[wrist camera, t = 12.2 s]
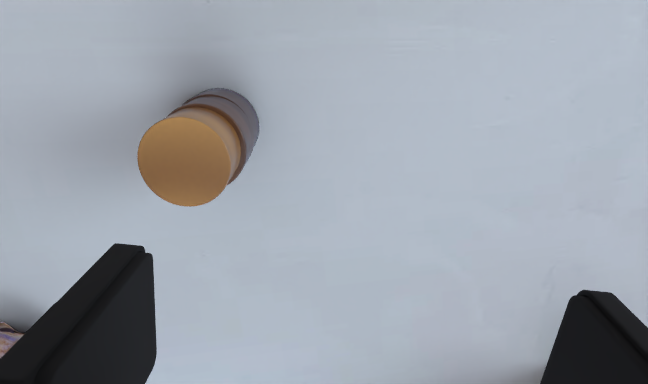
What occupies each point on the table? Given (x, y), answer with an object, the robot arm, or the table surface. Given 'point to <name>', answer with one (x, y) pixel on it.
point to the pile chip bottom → (238, 101)
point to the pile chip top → (234, 118)
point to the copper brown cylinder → (189, 156)
